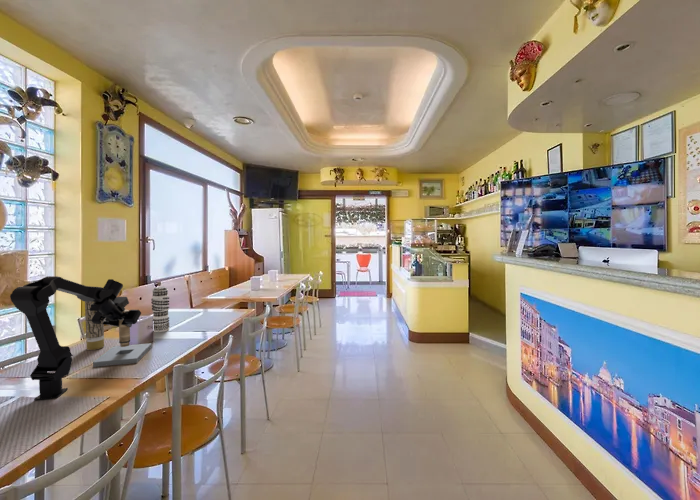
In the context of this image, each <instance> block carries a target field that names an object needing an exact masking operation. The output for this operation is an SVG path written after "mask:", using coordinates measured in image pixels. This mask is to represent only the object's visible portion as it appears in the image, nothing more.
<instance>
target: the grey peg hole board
mask: <svg viewBox="0 0 700 500" xmlns="http://www.w3.org/2000/svg"><path fill="white" fill-rule="evenodd" d="M152 347H153V345H152V343H151V342H150V343H140V344H129V346H126V347H120V345H114V346H113V347H111V348H109V349H108V350H107V351H106V352H104V353H103V354H102V355H100V356H99V357H98V358H97V359H95V360H93V361H92V367H93V368H96V367H107V366H116V365H128V364H138V363H139V362H140V360H141V359H142V358H143V357H144V356H145V355H146V354H147V353H148V352H149V351H150V350H151V349H152Z"/></svg>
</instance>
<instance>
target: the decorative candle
mask: <svg viewBox="0 0 700 500" xmlns="http://www.w3.org/2000/svg"><path fill="white" fill-rule="evenodd" d="M151 291H152V298H151V299H150V300H151V307H152V308H151V310H152V319H153V320H152V322H153V321H154V323H153V324H154V332H153V333H163V332H167V331H169V330H170V327H171V326H170V316H169V310H170V306H169V305H170V303H169V302H170V300H169V299H170V296H169V294H168V293H169V289H168V288H167V287H166V286H157V287H156V286H155V287H154V288H153V289H152V290H151Z"/></svg>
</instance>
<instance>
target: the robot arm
mask: <svg viewBox="0 0 700 500" xmlns="http://www.w3.org/2000/svg"><path fill="white" fill-rule="evenodd" d="M123 287H124V285H123V283H121V282H119V281H117V280H114V279H112V278H111V279H110V278H109V279H107V281H106V282H105V284H104V286H103V287H101V286H100V287H99V286H90V285H89V286H88V285H84V284H80V283H78V282H75V281H71V280H69V279H65V278H64V277H62V276H58V275H57V276H52V275H51V276H50V275H49V276H48V275H47V276H45V277H42V278H41V279H39V280H36V281H33V282H32V281H31V282H30V283H27V284H25V285H23V286H22V285H21V286H17V287H15V288H14V289H13V290H12V292H11V294H10V296H9V297H10V298H9V299H10V301H11V303H12V304H13V306H14V307H15V309H17V310H19V311H20V312H21V313H22V314H24V315H25V316H26V319H27V322H28V324H29V327H30V329H31V331H32V333H33V337H34V339H35V341H36V343H37V346H38V348H39V353H38V355H37V364H36V366H35V367H34V369H33V371H32V372H31V373H30V375H29V377H30V378H31V380H32V381H37V380H38V384H39V388H38V389H39V394H38V395H37V396H35V398H34V399H33V400H34V401H40V400H41V401H42V400H50V399H57V398H59V397H60V396H61V395H62V394H64V393H65V392H66V391H68V387H64V388H63V378H65V377H66V376H69V374H70V370H71V367H72V363H73V358H72V357H73V354H72V352H71V348H70V347H69V346H68V345H67V346H66V345H65V346H62V345H61V344H60V343H59V340H58V337H57V334H56V332H55V329H54V327H53V324H52V322H51V319H50V316H49V313H48V311H47V308H48V305H49V303H50V297H52V296H54V295H55V294H56V292H57V291H59V292H62V293H66V294H70V295H73V296H74V297H76V298H77V299H78V300H80V301H83V302H84V303H85V302H93V304H91V307H90V311H96V313H95V314H94V316H93V317H92V319H91V320H92V322H93V323H94V324H100V323H101V321H103V324H104V326H105V325H107V326H112V327H117V328H119V320H123V322H122V324H121V325H124V326H128V327H130V328H132V326H133V325H136V324H137V323H138V320H140V317H141V314H142V312H141V311H140V309H128V310H129V311H126V312H125V313H123V311H124V310H126V308H125V307H126V306H128V305H129V304H130V302H129V299H128V297H127V296H118V295H119V294H120V293H121V290H122V289H123ZM100 320H101V321H100Z"/></svg>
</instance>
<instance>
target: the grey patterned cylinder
mask: <svg viewBox="0 0 700 500" xmlns="http://www.w3.org/2000/svg"><path fill="white" fill-rule="evenodd" d="M91 304H93V302H85V301H84V312H85V313H84V315H85V317H84V318H85V339H86V342H85V343H86V350H89V351H95V350H100V349H102V348H104V346H105V328H104V327H105V325H104V324H103V321H101V320H100V321H101V323H100V324H94V323H93V322H92V320H91V319H92V317H93V316H94V314H95V313H96V311H90V307H91Z"/></svg>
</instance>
